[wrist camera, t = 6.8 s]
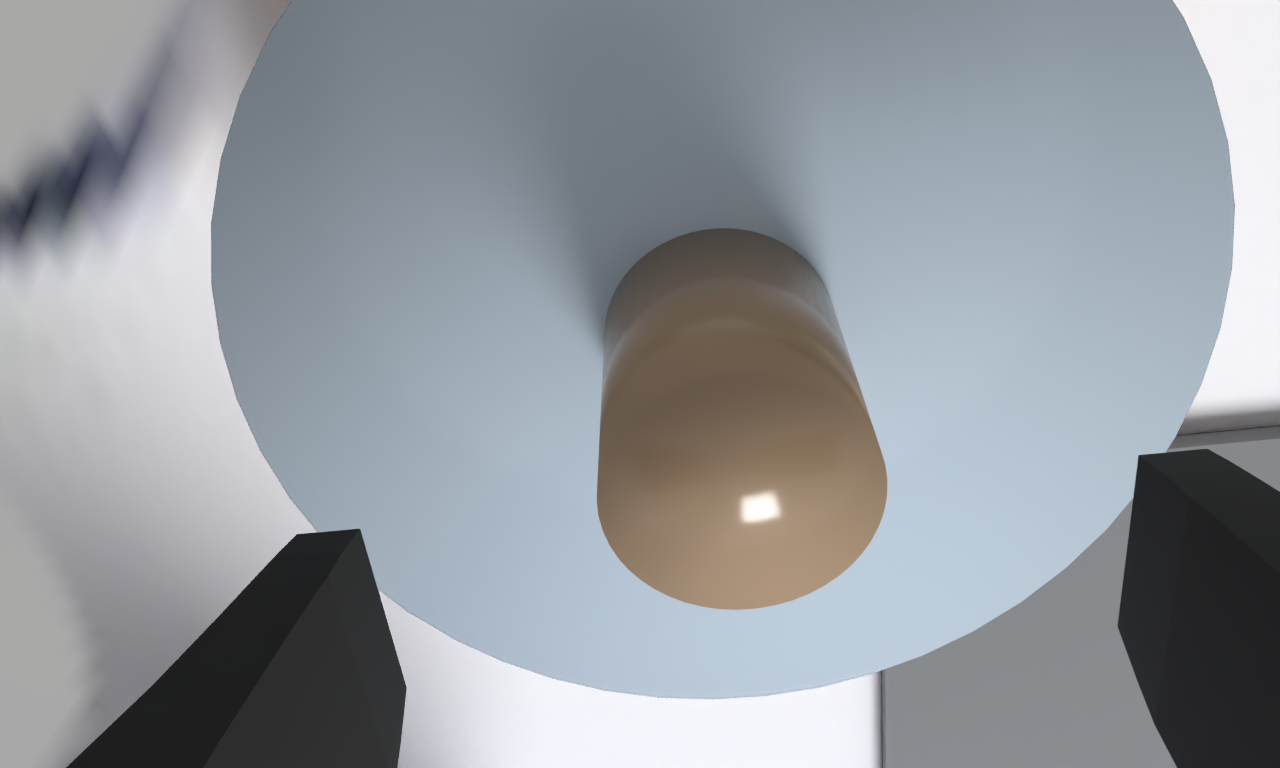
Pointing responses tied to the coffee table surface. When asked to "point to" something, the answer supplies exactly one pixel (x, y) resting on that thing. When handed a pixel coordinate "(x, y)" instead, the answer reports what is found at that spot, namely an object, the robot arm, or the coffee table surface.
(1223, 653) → the robot arm
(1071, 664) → the mat
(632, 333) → the lid
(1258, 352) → the coffee table surface
